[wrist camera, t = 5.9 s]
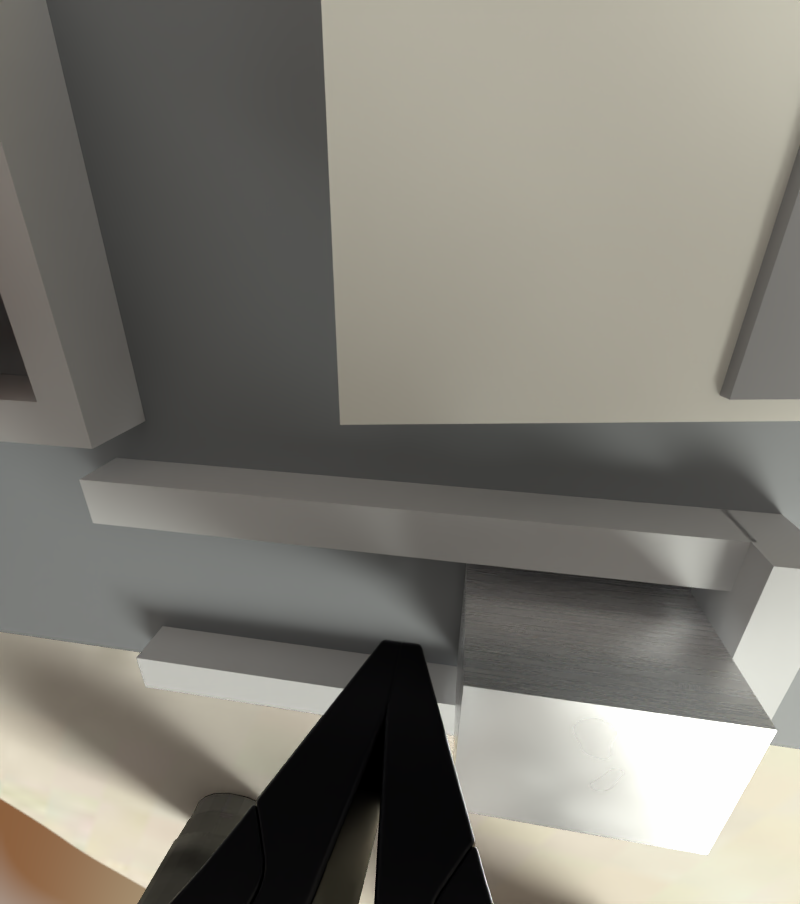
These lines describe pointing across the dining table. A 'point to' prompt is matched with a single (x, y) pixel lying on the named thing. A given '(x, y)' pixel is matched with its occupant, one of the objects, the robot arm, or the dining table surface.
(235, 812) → the beverage cup
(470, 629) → the slider knob
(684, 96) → the rocker switch
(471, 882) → the robot arm
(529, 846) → the dining table surface
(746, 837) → the dining table surface
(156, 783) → the dining table surface
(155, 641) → the switch panel
